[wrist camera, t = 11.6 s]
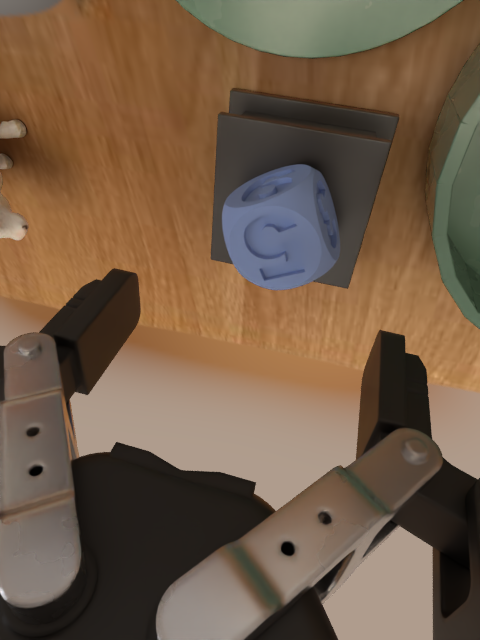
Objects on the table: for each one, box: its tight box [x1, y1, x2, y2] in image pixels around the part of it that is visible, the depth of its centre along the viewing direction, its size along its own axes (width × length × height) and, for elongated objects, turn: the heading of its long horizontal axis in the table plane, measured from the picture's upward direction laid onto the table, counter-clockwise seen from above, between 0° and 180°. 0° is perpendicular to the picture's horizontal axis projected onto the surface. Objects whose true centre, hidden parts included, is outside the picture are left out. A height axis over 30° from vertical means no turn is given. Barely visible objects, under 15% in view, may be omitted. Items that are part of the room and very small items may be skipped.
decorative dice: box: [222, 164, 340, 290], centre depth 20 cm, size 4×4×4 cm
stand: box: [211, 88, 399, 289], centre depth 22 cm, size 8×8×4 cm
